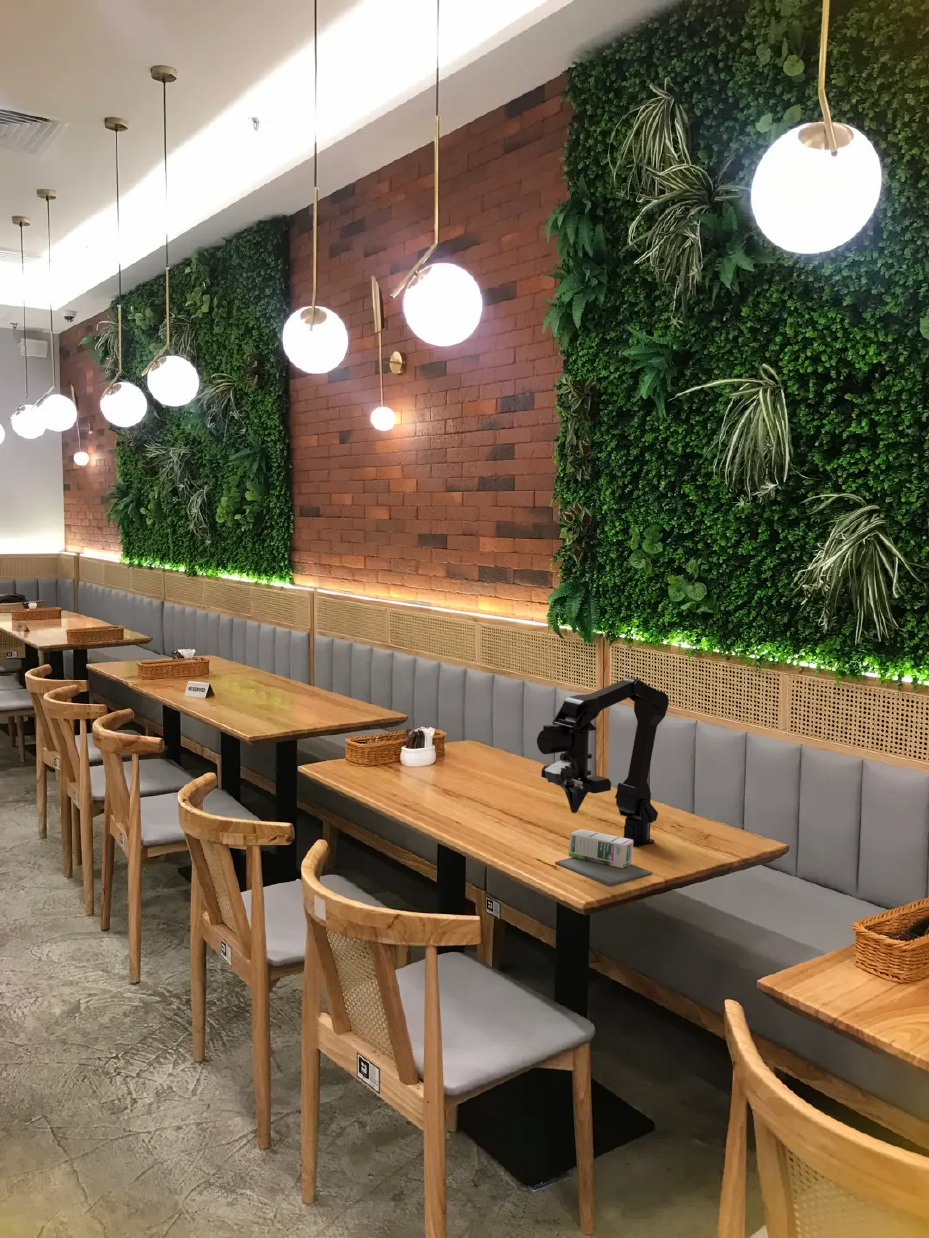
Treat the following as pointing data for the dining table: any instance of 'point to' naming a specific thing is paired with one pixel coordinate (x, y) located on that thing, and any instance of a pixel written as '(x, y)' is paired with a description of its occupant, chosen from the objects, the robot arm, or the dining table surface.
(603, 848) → the syrup box
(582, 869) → the mat
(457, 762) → the dining table surface
